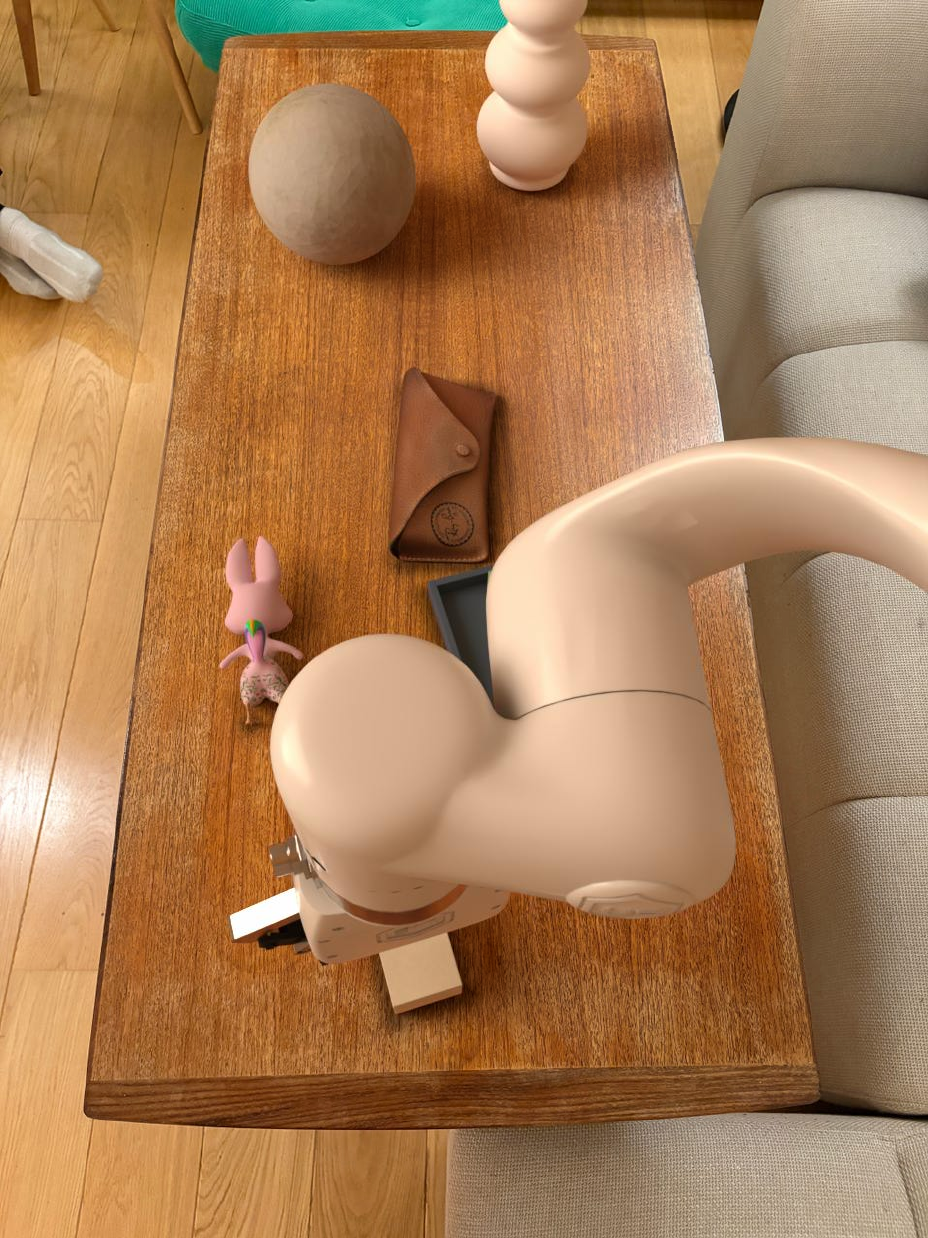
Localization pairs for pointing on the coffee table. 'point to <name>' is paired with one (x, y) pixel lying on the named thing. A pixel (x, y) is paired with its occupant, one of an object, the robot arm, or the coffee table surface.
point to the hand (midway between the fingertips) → (404, 912)
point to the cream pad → (421, 973)
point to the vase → (535, 94)
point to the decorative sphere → (332, 174)
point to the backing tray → (465, 620)
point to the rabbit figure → (257, 622)
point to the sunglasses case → (441, 472)
